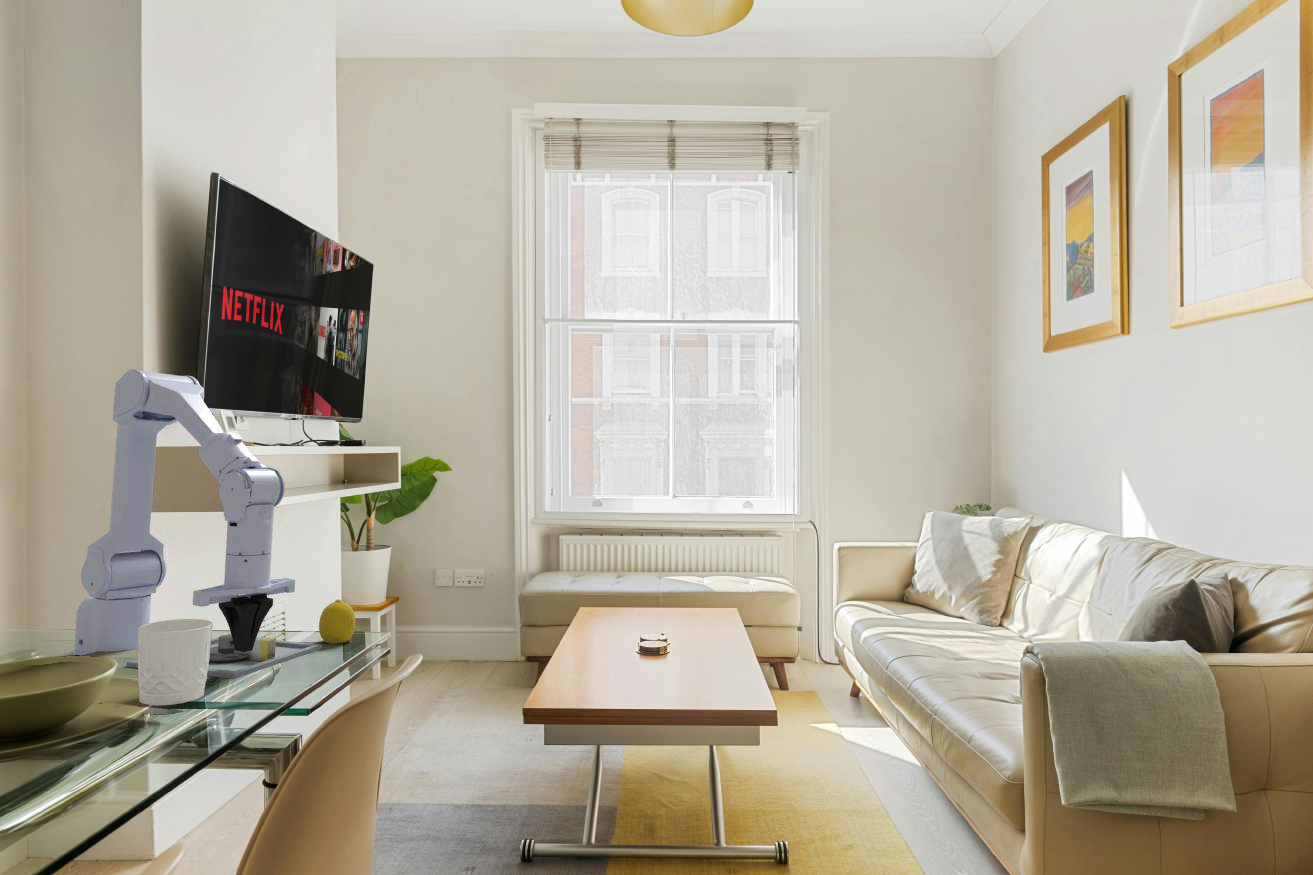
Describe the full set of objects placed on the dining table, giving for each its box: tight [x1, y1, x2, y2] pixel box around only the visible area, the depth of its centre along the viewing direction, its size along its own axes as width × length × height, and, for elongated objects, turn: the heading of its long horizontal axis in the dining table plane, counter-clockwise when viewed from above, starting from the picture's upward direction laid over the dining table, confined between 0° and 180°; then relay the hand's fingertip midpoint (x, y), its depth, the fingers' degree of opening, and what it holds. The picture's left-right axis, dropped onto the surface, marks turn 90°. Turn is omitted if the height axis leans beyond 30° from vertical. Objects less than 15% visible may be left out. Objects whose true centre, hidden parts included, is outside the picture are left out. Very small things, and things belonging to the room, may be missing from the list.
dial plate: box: [125, 637, 323, 679], centre depth 115 cm, size 18×18×2 cm
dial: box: [209, 633, 277, 662], centre depth 115 cm, size 11×8×3 cm
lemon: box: [318, 599, 356, 645], centre depth 127 cm, size 6×6×8 cm
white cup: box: [137, 618, 214, 715], centre depth 96 cm, size 8×8×10 cm
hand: (243, 650), depth 109 cm, fingers closed
